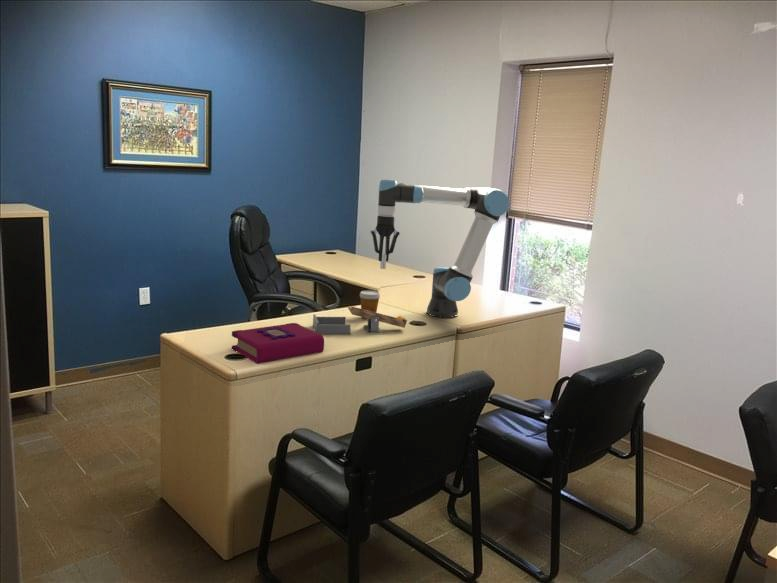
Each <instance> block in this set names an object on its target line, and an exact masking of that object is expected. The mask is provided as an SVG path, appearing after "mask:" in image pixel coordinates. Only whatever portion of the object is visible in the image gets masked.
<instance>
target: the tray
mask: <svg viewBox="0 0 777 583" xmlns="http://www.w3.org/2000/svg"><path fill="white" fill-rule="evenodd" d="M312 317H313V318H312V320H313V321H312V328H314V329H315V330H314V332H317V333H319V334H321V335H351V324H346V322H347V321H346V320H347V319H346V316H316V314H313V316H312Z"/></svg>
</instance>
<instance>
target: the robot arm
mask: <svg viewBox="0 0 777 583" xmlns="http://www.w3.org/2000/svg"><path fill="white" fill-rule="evenodd" d="M396 203H403V204H404V203H406V204H407V203H408V204H420V203H429V204H438V205H439V204H440V205H449V206H450V205H451V206H461V207H463V208H464V209H471V210H474V211H473V213H474V216H475V218H474V220H473V222H472V225H471V227H470V228H469V231H468V233H467V236H466V237H465V240H464V242H463V244H462V246H461V249H460V251H459V253H458V256H457V257H456V260H455V262H454V264H453V265H451V266H449V267H445V266H444V267H443V266H441V267H439V266H437V267H434V268H433V272H432V284H431V285H432V287H431V296H430V297H431V298H430V301H429V302H428V304H427V308H426V314H427V313H428V314H427V315H429V314H431V315H434V316H433V317H435V316H441V317H440V318H442V317H451V316H455V315H457V314H458V315H459V309H458V306H457V305H458V304H457V302H462V301H464V300H466V299H467V298H468V296H470V293H471V290H472V286H471V282H472V280H473V277H474V276H473V274H472V272H473V269H474V267H475V265H476V263H477V261H478V258H479V256H480V253H481V252H482V249H483V247H484V245H485V243H486V241H487V239H488V236H489V233H490V231H491V229H492V227H493V225H494V224H497V223H498V222H499V220H500V218H501V216H503V215H504V214H505V213H506V212H507V211H508V210H509V207H510V206H509V205H510V199H509V197H508V194H506V192H505V191H503V190H501V189H498V188H493V187H486V186H485V187H483V186H482V187H465V188H451V187H442V186H441V187H440V186H430V185H419V184H409V183H408V184H407V183H401V182H400V183H398V182H397V180H395V179H381V180H380V181H379V186H378V205H377V214H378V215H377V219H376V220H377V222H376V227H375V229H373V230H372V229H371V230H370V234H371V236H372V241H373V248H374V252H375V253H376V254H378V261H379V262H380V266H379V268H380V270H386V268H387V266H386V265H387V262H389V256H390V254H393V252H394V250H395V248H396V246H395V245H396V243H397V239H398V237H399V236H400V234H401V233H400V232H399V231H397V230H396V228H395V219H396V218H395V215H396ZM377 234H378V235H379V243H378V240H377V239H378V238H377ZM392 234H393V236H392ZM391 236H392V240H391ZM384 239H385V246H384ZM390 240H391V243H390ZM384 247H385V250H384ZM383 250H384V252H385V253H383ZM431 315H430V316H431Z"/></svg>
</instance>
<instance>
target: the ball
mask: <svg viewBox="0 0 777 583" xmlns="http://www.w3.org/2000/svg"><path fill="white" fill-rule="evenodd" d="M395 318H396V320H399V321H403V320H404V318H405V317H404V318H403V316H402V315H398V316H397V317H395Z"/></svg>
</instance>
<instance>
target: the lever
mask: <svg viewBox="0 0 777 583" xmlns="http://www.w3.org/2000/svg"><path fill="white" fill-rule="evenodd" d="M347 309H348V310H349V312H350V314H351V315H353V316H356V317H360V318H362V317H364V318H368V319H371V318H372V317H379V323H384V324H387V325H392V326H396V327H400V328H403V329H405V327H406V324H407V322H408V320H407V319H406V318H405V316H404V317H403V316H402V317H403V318H404V320H403V321H399V320H396V318H397V317H394V316H390V315H387V314H382V313H381V312H380V313H379V312H372V311H368V310H364V309H361V307H360V308H359V307H356V306H349V305H348V307H347Z"/></svg>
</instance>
